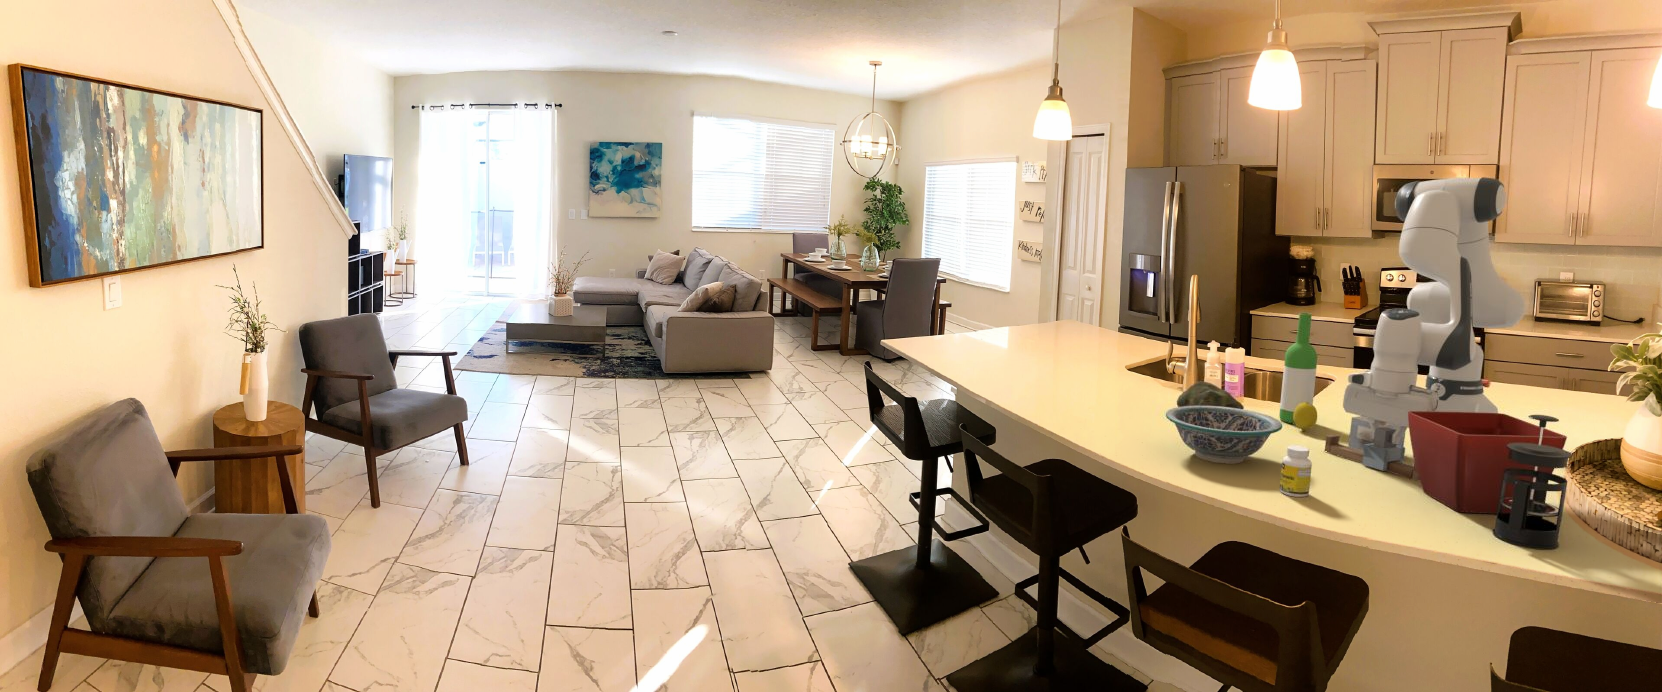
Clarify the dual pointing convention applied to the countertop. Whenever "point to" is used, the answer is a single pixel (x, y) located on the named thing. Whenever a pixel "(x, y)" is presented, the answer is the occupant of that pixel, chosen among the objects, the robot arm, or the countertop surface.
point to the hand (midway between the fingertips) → (1385, 440)
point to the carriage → (1382, 450)
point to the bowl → (1222, 431)
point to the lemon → (1305, 416)
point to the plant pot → (1471, 456)
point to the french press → (1519, 522)
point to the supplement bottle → (1296, 472)
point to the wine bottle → (1298, 371)
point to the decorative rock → (1207, 396)
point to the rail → (1357, 455)
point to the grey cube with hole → (1366, 432)
